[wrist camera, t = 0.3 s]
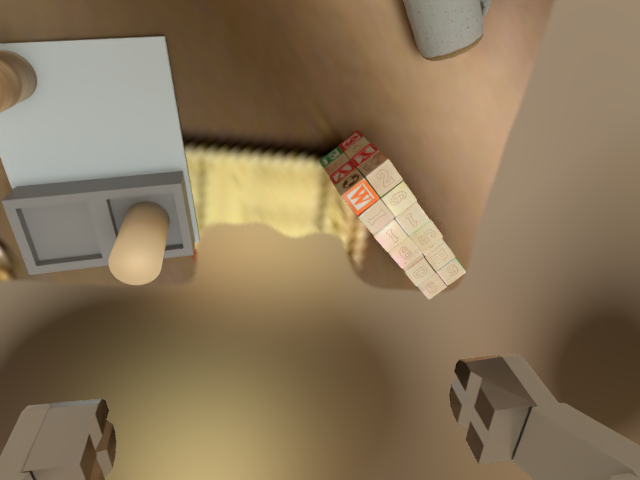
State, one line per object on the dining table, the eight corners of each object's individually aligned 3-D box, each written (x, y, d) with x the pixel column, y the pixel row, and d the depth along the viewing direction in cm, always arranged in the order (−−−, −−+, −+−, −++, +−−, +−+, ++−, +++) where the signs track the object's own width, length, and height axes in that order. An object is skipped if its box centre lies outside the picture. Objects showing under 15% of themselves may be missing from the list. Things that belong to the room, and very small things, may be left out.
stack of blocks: (436, 240, 68) (479, 285, 57) (402, 266, 69) (437, 315, 58) (356, 128, 58) (389, 158, 47) (317, 160, 58) (340, 196, 48)
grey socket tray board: (-36, 44, 45) (-125, 61, 33) (165, 35, 49) (150, 48, 36) (40, 256, 57) (-6, 327, 44) (199, 238, 60) (196, 299, 48)
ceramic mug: (411, 61, 55) (440, 69, 48) (389, -10, 51) (417, -12, 44) (491, 19, 55) (531, 21, 48) (474, -56, 51) (515, -64, 44)
